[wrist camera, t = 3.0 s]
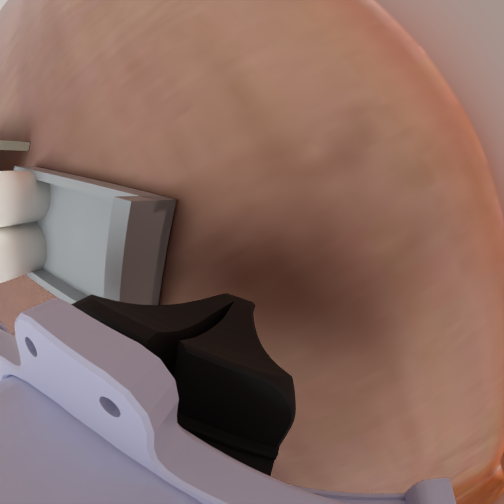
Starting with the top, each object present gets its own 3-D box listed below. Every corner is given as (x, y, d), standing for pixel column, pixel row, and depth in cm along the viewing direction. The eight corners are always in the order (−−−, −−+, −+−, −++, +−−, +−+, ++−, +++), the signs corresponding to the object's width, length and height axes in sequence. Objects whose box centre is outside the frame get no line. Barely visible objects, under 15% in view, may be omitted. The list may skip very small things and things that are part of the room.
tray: (176, 199, 14) (103, 203, 8) (155, 329, 16) (98, 376, 10) (33, 166, 16) (-21, 166, 11) (26, 256, 18) (-23, 270, 13)
